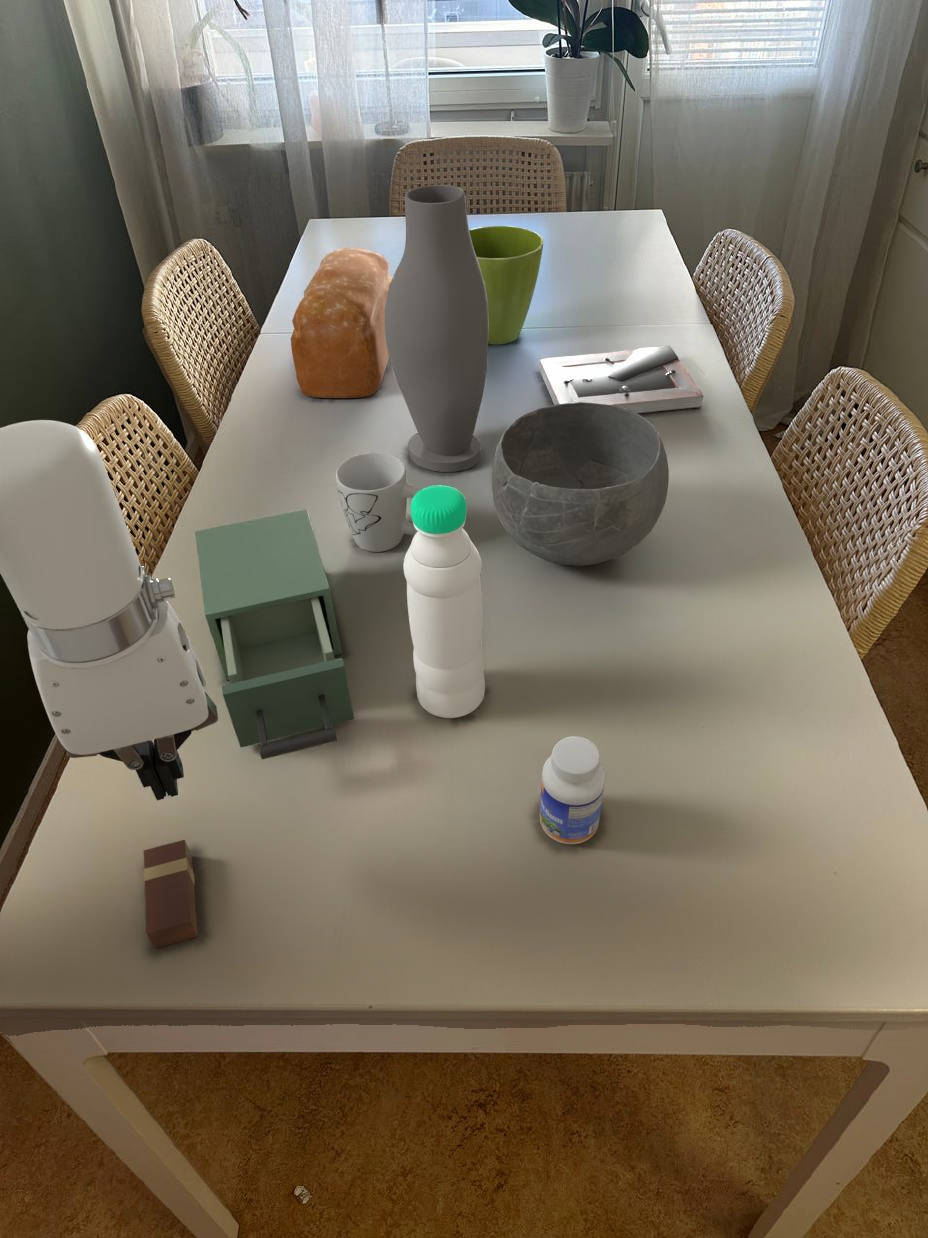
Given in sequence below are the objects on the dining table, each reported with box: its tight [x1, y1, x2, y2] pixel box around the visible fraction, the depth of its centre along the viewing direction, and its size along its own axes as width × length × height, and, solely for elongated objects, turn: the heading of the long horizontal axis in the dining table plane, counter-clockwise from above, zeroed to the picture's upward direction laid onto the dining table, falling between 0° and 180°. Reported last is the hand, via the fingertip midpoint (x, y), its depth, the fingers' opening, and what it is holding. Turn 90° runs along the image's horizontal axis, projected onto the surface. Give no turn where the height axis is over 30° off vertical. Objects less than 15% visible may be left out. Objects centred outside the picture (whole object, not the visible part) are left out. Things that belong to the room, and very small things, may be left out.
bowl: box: [490, 402, 670, 567], centre depth 103 cm, size 20×20×15 cm
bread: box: [290, 247, 393, 399], centre depth 141 cm, size 14×26×16 cm, turn 176°
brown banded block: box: [142, 839, 199, 950], centre depth 73 cm, size 4×8×3 cm, turn 17°
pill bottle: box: [539, 735, 606, 845], centre depth 75 cm, size 5×5×10 cm
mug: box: [335, 451, 423, 553], centre depth 106 cm, size 11×8×10 cm
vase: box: [385, 184, 489, 473], centre depth 112 cm, size 13×13×35 cm
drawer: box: [221, 597, 355, 760], centre depth 86 cm, size 19×11×8 cm, turn 17°
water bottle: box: [402, 484, 486, 719], centre depth 82 cm, size 7×7×25 cm
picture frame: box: [538, 345, 705, 415], centre depth 135 cm, size 16×2×22 cm
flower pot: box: [469, 225, 545, 345], centre depth 146 cm, size 15×15×16 cm
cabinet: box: [194, 508, 343, 681], centre depth 96 cm, size 15×13×10 cm
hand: (166, 783), depth 68 cm, fingers closed
